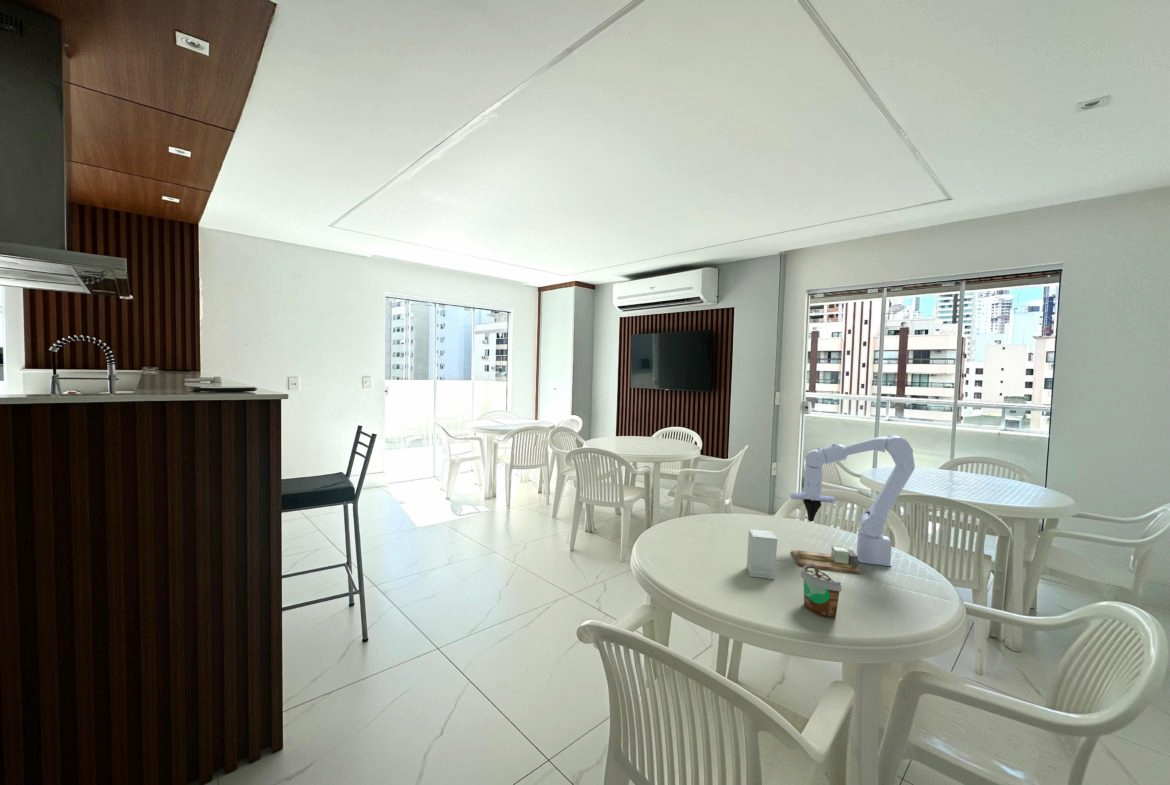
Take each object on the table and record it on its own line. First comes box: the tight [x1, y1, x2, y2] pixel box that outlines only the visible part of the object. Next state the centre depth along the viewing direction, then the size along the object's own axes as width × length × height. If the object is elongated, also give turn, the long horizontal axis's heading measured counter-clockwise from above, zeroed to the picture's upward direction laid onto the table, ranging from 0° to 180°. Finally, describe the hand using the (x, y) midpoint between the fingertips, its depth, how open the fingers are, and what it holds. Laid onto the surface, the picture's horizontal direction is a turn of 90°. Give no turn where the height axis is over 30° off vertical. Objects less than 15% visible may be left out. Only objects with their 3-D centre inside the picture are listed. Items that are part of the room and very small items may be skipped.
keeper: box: [830, 545, 849, 564], centre depth 149 cm, size 4×4×4 cm
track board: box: [791, 548, 861, 575], centre depth 151 cm, size 18×12×4 cm, turn 75°
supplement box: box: [746, 528, 778, 580], centre depth 140 cm, size 7×7×13 cm
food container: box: [800, 563, 842, 619], centre depth 119 cm, size 12×6×10 cm, turn 5°
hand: (810, 520), depth 162 cm, fingers closed
